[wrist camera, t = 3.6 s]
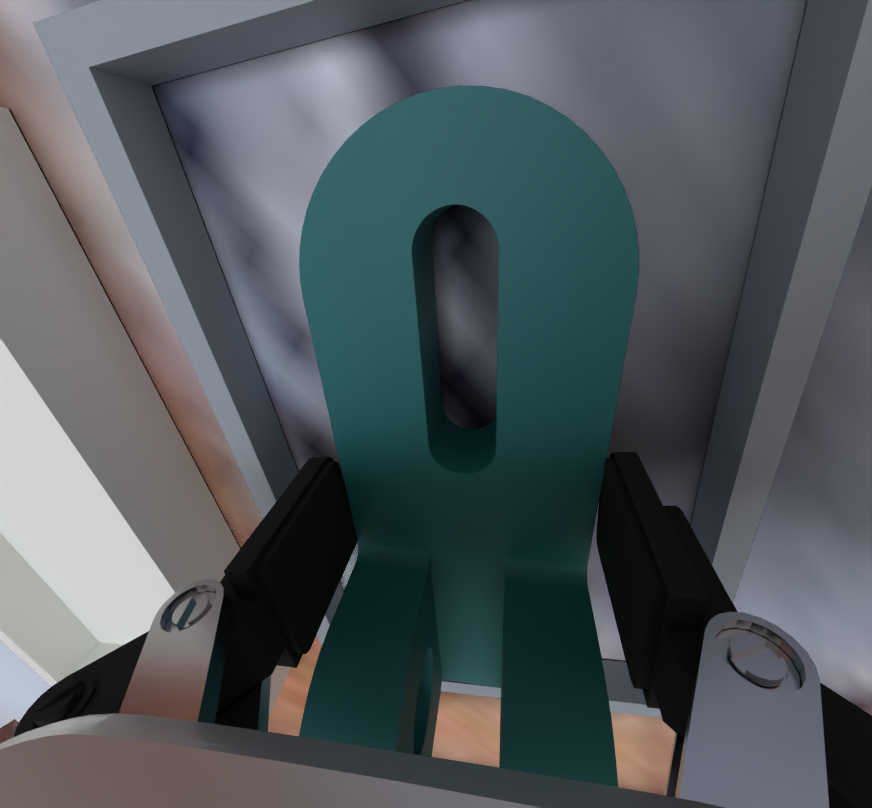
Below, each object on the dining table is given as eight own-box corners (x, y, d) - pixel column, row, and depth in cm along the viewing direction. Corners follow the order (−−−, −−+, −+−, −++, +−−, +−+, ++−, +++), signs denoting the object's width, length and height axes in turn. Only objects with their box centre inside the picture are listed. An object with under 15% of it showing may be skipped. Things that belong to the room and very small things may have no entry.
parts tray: (7, 107, 10) (-181, 76, 7) (296, 655, 20) (265, 723, 18) (-282, 190, 12) (-496, 189, 10) (108, 635, 23) (57, 691, 20)
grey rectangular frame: (916, -200, 5) (1041, -323, 4) (677, 678, 16) (692, 721, 14) (104, 48, 9) (32, 22, 7) (349, 645, 19) (337, 678, 18)
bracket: (556, 636, 16) (590, 963, 9) (400, 616, 17) (328, 892, 10) (635, 93, 8) (1811, -850, 1) (316, 128, 9) (-371, -100, 2)
